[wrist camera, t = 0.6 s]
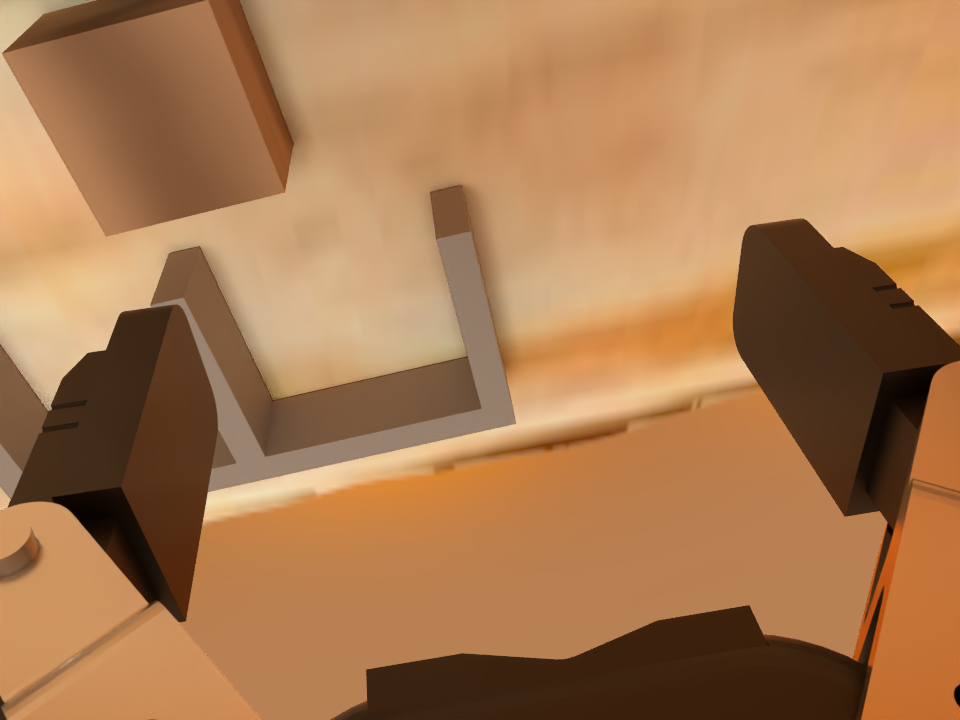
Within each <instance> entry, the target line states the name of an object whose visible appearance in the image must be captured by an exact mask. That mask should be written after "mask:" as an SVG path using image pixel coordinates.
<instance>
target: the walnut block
mask: <svg viewBox="0 0 960 720" xmlns="http://www.w3.org/2000/svg"><path fill="white" fill-rule="evenodd" d="M2 54H3V56H4V58H5V60H6V62H7V63H8V65H9V67H10V69H11V70H12V72H13V74H14V76H15V77H16V79H17V81H18V83H19V84H20V86H21V88H22V90H23V91H24V93H25V95H26V97H27V98H28V100H29V102H30V104H31V105H32V107H33V109H34V111H35V112H36V114H37V116H38V118H39V120H40V121H41V123H42V125H43V127H44V128H45V130H46V132H47V134H48V135H49V137H50V139H51V141H52V142H53V144H54V146H55V148H56V149H57V151H58V153H59V155H60V156H61V158H62V160H63V162H64V163H65V165H66V167H67V169H68V170H69V172H70V174H71V176H72V177H73V179H74V181H75V183H76V185H77V186H78V188H79V190H80V192H81V193H82V195H83V197H84V199H85V200H86V202H87V204H88V206H89V207H90V209H91V211H92V213H93V214H94V216H95V218H96V220H97V221H98V223H99V225H100V227H101V228H102V230H103V232H104V234H105V235H106V236H110V235H114V234H118V233H122V232H126V231H130V230H134V229H139V228H143V227H147V226H151V225H155V224H159V223H163V222H167V221H171V220H175V219H179V218H183V217H187V216H191V215H195V214H199V213H203V212H207V211H211V210H215V209H219V208H223V207H227V206H231V205H236V204H240V203H244V202H248V201H252V200H256V199H260V198H264V197H268V196H272V195H276V194H280V193H284V192H285V188H286V183H287V177H288V171H289V165H290V160H291V154H292V148H293V141H292V139H291V136H290V133H289V131H288V128H287V125H286V123H285V120H284V118H283V115H282V112H281V110H280V107H279V104H278V102H277V99H276V96H275V94H274V91H273V88H272V86H271V83H270V80H269V78H268V75H267V72H266V70H265V67H264V65H263V62H262V59H261V57H260V54H259V51H258V49H257V46H256V43H255V41H254V38H253V35H252V33H251V30H250V27H249V25H248V22H247V19H246V17H245V14H244V11H243V9H242V6H241V4H240V1H239V0H97V1H93V2H89V3H85V4H81V5H78V6H74V7H70V8H66V9H62V10H58V11H55V12H51V13H47V14H43V15H42V16H41V17H40V18H39V19H38V20H37V21H36V22H35V23H34V24H33V25H32V26H31V27H30V28H29V29H28V30H26V31H25V32H24V33H23V34H22V35H21V36H20V37H19V38H18V39H17V40H16V41H15V42H14V43H13V44H12V45H11V46H9V47H8V48H7V49H6V50H5V51H4V52H3V53H2Z"/></svg>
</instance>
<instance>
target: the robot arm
mask: <svg viewBox="0 0 960 720" xmlns="http://www.w3.org/2000/svg"><path fill="white" fill-rule="evenodd" d="M733 331H734V337H735V342H736V346H737V349H738V351H739V354H740V356H741V358H742V359H743V361H744V362H745V364H746V365H747V367H748V369H749V370H750V372H751V373H752V375H753V376H754V378H755V379H756V381H757V382H758V384H759V385H760V387H761V389H762V390H763V392H764V393H765V395H766V396H767V398H768V399H769V401H770V402H771V404H772V405H773V407H774V409H775V410H776V412H777V413H778V415H779V416H780V418H781V419H782V421H783V422H784V424H785V425H786V427H787V428H788V430H789V432H790V433H791V434H792V436H793V438H794V439H795V441H796V442H797V444H798V445H799V447H800V449H801V450H802V452H803V453H804V455H805V456H806V458H807V459H808V461H809V462H810V464H811V465H812V467H813V468H814V470H815V471H816V473H817V475H818V476H819V478H820V479H821V481H822V482H823V484H824V485H825V487H826V488H827V490H828V492H829V493H830V494H831V496H832V498H833V499H834V501H835V502H836V504H837V505H838V507H839V508H840V510H841V512H842V513H843V514H844V516H852V515H858V514H863V513H870V512H876V511H880V512H881V513H882V515H883V516H884V518H885V519H886V521H887V524H886V527H885V531H884V534H883V537H882V541H881V544H880V549H879V553H878V557H877V561H876V565H875V569H874V573H873V578H872V582H871V586H870V590H869V594H868V598H867V603H866V607H865V611H864V615H863V619H862V623H861V627H860V631H859V636H858V640H857V644H856V647H855V651H854V656H853V659H852V658H850V657H848V656H845V655H843V654H840V653H838V652H835V651H833V650H830V649H827V648H825V647H822V646H819V645H815V644H812V643H808V642H805V641H801V640H797V639H791V638H785V637H780V636H774V635H763V633H762V631H761V629H760V627H759V625H758V623H757V621H756V618H755V616H754V614H753V613H752V610H751V608H750V606H749V605H748V606H742V607H737V608H730V609H724V610H718V611H713V612H706V613H700V614H694V615H689V616H683V617H676V618H671V619H665V620H659V621H656V622H653V623H651V624H649V625H646V626H644V627H642V628H639V629H637V630H635V631H632V632H630V633H628V634H626V635H623V636H621V637H619V638H616V639H614V640H612V641H610V642H607V643H605V644H603V645H600V646H598V647H596V648H593V649H591V650H589V651H586V652H584V653H582V654H580V655H577V656H575V657H572V658H568V659H563V660H562V659H561V660H560V659H559V660H554V659H539V658H524V657H508V656H492V655H478V654H456V655H451V656H445V657H440V658H433V659H427V660H421V661H415V662H409V663H403V664H397V665H391V666H385V667H379V668H374V669H367V670H366V673H367V674H366V675H367V701H366V702H363V703H361V704H359V705H356V706H354V707H352V708H350V709H348V710H347V711H345V712H343V713H341V714H340V715H338V716H336V717H334V718H333V719H331V720H960V346H959V345H958V344H957V343H956V342H955V341H954V340H953V339H952V338H951V337H950V336H949V335H948V334H947V333H946V332H945V331H944V330H943V329H942V328H941V327H940V326H939V325H938V324H937V323H936V322H935V321H934V320H933V319H932V318H931V317H930V316H929V315H928V314H927V313H926V312H925V311H924V310H923V309H922V308H921V307H919V306H914V301H913V300H912V299H911V298H910V297H909V296H908V295H907V294H906V293H905V292H904V291H903V290H902V289H901V288H898V289H897V287H896V283H895V282H894V281H893V280H892V279H891V278H890V277H889V276H888V275H887V274H886V273H885V272H884V271H883V270H882V269H881V268H880V267H879V266H878V265H877V264H876V263H874V262H872V261H870V260H868V259H866V258H864V257H862V256H860V255H858V254H856V253H854V252H852V251H850V250H848V249H846V248H844V247H839V248H833V247H832V246H831V245H830V244H829V243H828V242H827V241H826V240H825V239H824V238H823V236H822V235H821V234H820V233H819V232H818V231H817V230H816V229H815V228H814V227H813V226H812V225H811V224H810V223H809V222H808V221H807V220H805V219H793V220H786V221H779V222H772V223H765V224H757V225H751V226H749V227H748V228H747V230H746V231H745V234H744V237H743V241H742V248H741V256H740V264H739V272H738V280H737V288H736V296H735V304H734V312H733ZM51 407H52V410H50V411H48V414H47V416H46V418H45V421H44V423H43V425H42V433H39V435H38V437H37V440H36V442H35V444H34V447H33V449H32V451H31V454H30V456H29V458H28V461H27V463H26V465H25V468H24V470H23V473H22V475H21V477H20V480H19V482H18V484H17V487H16V489H15V491H14V494H13V496H12V498H11V501H10V503H9V505H8V508H5V509H3V510H0V720H262V719H261V717H260V716H259V715H258V714H257V713H256V712H255V710H254V709H253V708H252V707H251V706H250V705H249V704H248V702H247V701H246V700H245V699H244V698H243V697H242V695H241V694H240V693H239V692H238V691H237V690H236V688H235V687H234V686H233V685H232V684H231V683H230V682H229V680H228V679H227V678H226V677H225V676H224V675H223V673H222V672H221V671H220V670H219V669H218V668H217V667H216V665H215V664H214V663H213V662H212V661H211V660H210V658H209V657H208V656H207V655H206V654H205V653H204V651H203V650H202V649H201V648H200V647H199V646H198V644H197V643H196V642H195V641H194V640H193V639H192V638H191V636H190V635H189V634H188V633H187V632H186V631H185V629H184V628H183V627H182V626H181V625H180V624H179V622H184V621H186V617H187V611H188V604H189V599H190V593H191V587H192V581H193V575H194V569H195V564H196V558H197V551H198V546H199V540H200V534H201V528H202V523H203V517H204V511H205V505H206V499H207V493H208V487H209V481H210V475H211V470H212V464H213V458H214V452H215V446H216V440H217V433H218V416H217V408H216V402H215V397H214V393H213V390H212V387H211V384H210V382H209V379H208V376H207V373H206V370H205V367H204V364H203V362H202V359H201V356H200V353H199V350H198V347H197V345H196V342H195V339H194V336H193V333H192V330H191V328H190V325H189V322H188V319H187V317H186V314H185V312H184V311H183V309H182V308H181V307H180V306H179V305H177V304H175V305H168V306H160V307H153V308H146V309H139V310H132V311H125V312H122V313H121V314H120V315H119V317H118V320H117V322H116V325H115V328H114V330H113V333H112V336H111V338H110V341H109V344H108V346H107V349H106V350H105V351H98V352H91V353H87V354H86V355H85V356H84V357H83V358H82V359H81V360H80V361H79V362H78V363H77V364H76V365H75V366H74V367H73V368H72V369H71V370H70V371H69V372H68V373H67V374H66V375H65V376H64V377H63V378H62V381H61V383H60V386H59V388H58V390H57V393H56V395H55V397H54V400H53V402H52V404H51Z"/></svg>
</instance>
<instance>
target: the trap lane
mask: <svg viewBox="0 0 960 720" xmlns="http://www.w3.org/2000/svg"><path fill="white" fill-rule="evenodd" d="M430 195H431V202H432V210H433V218H434V225H435V233H436V240H437V244H438V247H439V251H440V255H441V259H442V262H443V266H444V270H445V273H446V277H447V281H448V285H449V288H450V292H451V296H452V299H453V303H454V307H455V311H456V314H457V318H458V322H459V326H460V329H461V333H462V337H463V340H464V344H465V348H466V352H467V355H468V357H466V358H461V359H457V360H452V361H448V362H444V363H439V364H435V365H430V366H426V367H421V368H417V369H412V370H408V371H404V372H399V373H395V374H390V375H386V376H381V377H377V378H372V379H368V380H364V381H359V382H355V383H350V384H346V385H341V386H337V387H333V388H328V389H324V390H319V391H315V392H310V393H306V394H301V395H297V396H293V397H288V398H284V399H279V400H275V401H273V400H272V398H271V396H270V394H269V392H268V390H267V387H266V385H265V383H264V381H263V379H262V377H261V375H260V373H259V371H258V369H257V367H256V364H255V362H254V360H253V358H252V356H251V354H250V352H249V350H248V348H247V346H246V343H245V341H244V339H243V337H242V335H241V333H240V331H239V329H238V327H237V325H236V322H235V320H234V318H233V316H232V314H231V312H230V310H229V308H228V306H227V304H226V302H225V299H224V297H223V295H222V293H221V291H220V289H219V287H218V285H217V283H216V281H215V278H214V276H213V274H212V272H211V270H210V268H209V266H208V264H207V262H206V260H205V257H204V255H203V253H202V251H201V249H200V247H196V248H191V249H187V250H183V251H179V252H174V253H170V254H169V255H168V258H167V260H166V263H165V266H164V269H163V272H162V274H161V277H160V280H159V283H158V285H157V288H156V291H155V294H154V296H153V299H152V302H151V305H150V306H151V308H153V307H160V306H168V305H175V304H177V305H179V306H180V307H181V308H182V309H183V311H184V312H185V314H186V317H187V319H188V322H189V325H190V328H191V330H192V333H193V336H194V339H195V342H196V345H197V347H198V350H199V353H200V356H201V359H202V362H203V364H204V367H205V370H206V373H207V376H208V379H209V382H210V384H211V387H212V390H213V393H214V397H215V402H216V408H217V416H218V433H217V440H216V446H215V452H214V458H213V464H212V470H211V475H210V481H209V487H208V492H210V491H214V490H219V489H223V488H228V487H233V486H237V485H242V484H246V483H251V482H255V481H260V480H264V479H269V478H273V477H278V476H282V475H287V474H291V473H296V472H300V471H305V470H309V469H314V468H318V467H323V466H327V465H332V464H336V463H341V462H345V461H350V460H354V459H359V458H363V457H368V456H372V455H377V454H381V453H386V452H390V451H395V450H399V449H404V448H409V447H413V446H418V445H422V444H427V443H431V442H436V441H440V440H445V439H449V438H454V437H458V436H463V435H467V434H472V433H476V432H481V431H485V430H490V429H494V428H499V427H503V426H508V425H512V424H516V420H515V416H514V411H513V406H512V401H511V396H510V392H509V387H508V382H507V377H506V372H505V368H504V364H503V360H502V355H501V351H500V347H499V343H498V338H497V334H496V330H495V326H494V321H493V317H492V313H491V309H490V304H489V300H488V296H487V292H486V287H485V283H484V279H483V275H482V271H481V266H480V262H479V258H478V254H477V249H476V245H475V241H474V237H473V232H472V228H471V224H470V220H469V215H468V211H467V207H466V203H465V198H464V194H463V190H462V186H457V187H453V188H448V189H444V190H440V191H435V192H431V193H430ZM47 414H48V412H47V410H46V409H45V407H44V406H43V405H42V403H41V402H40V400H39V399H38V398H37V396H36V395H35V393H34V392H33V390H32V389H31V388H30V386H29V385H28V383H27V382H26V381H25V379H24V378H23V376H22V375H21V374H20V372H19V371H18V369H17V368H16V367H15V365H14V364H13V362H12V361H11V360H10V358H9V357H8V355H7V354H6V353H5V351H4V350H3V348H2V347H1V345H0V487H1V488H2V489H3V491H4V492H5V493H6V494H7V495H8V497H9V498H10V499H11V498H12V496H13V494H14V491H15V489H16V487H17V484H18V482H19V480H20V477H21V475H22V473H23V470H24V468H25V465H26V463H27V461H28V458H29V456H30V454H31V451H32V449H33V447H34V444H35V442H36V440H37V437H38V435H39V433H42V425H43V423H44V421H45V418H46V416H47Z"/></svg>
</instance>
